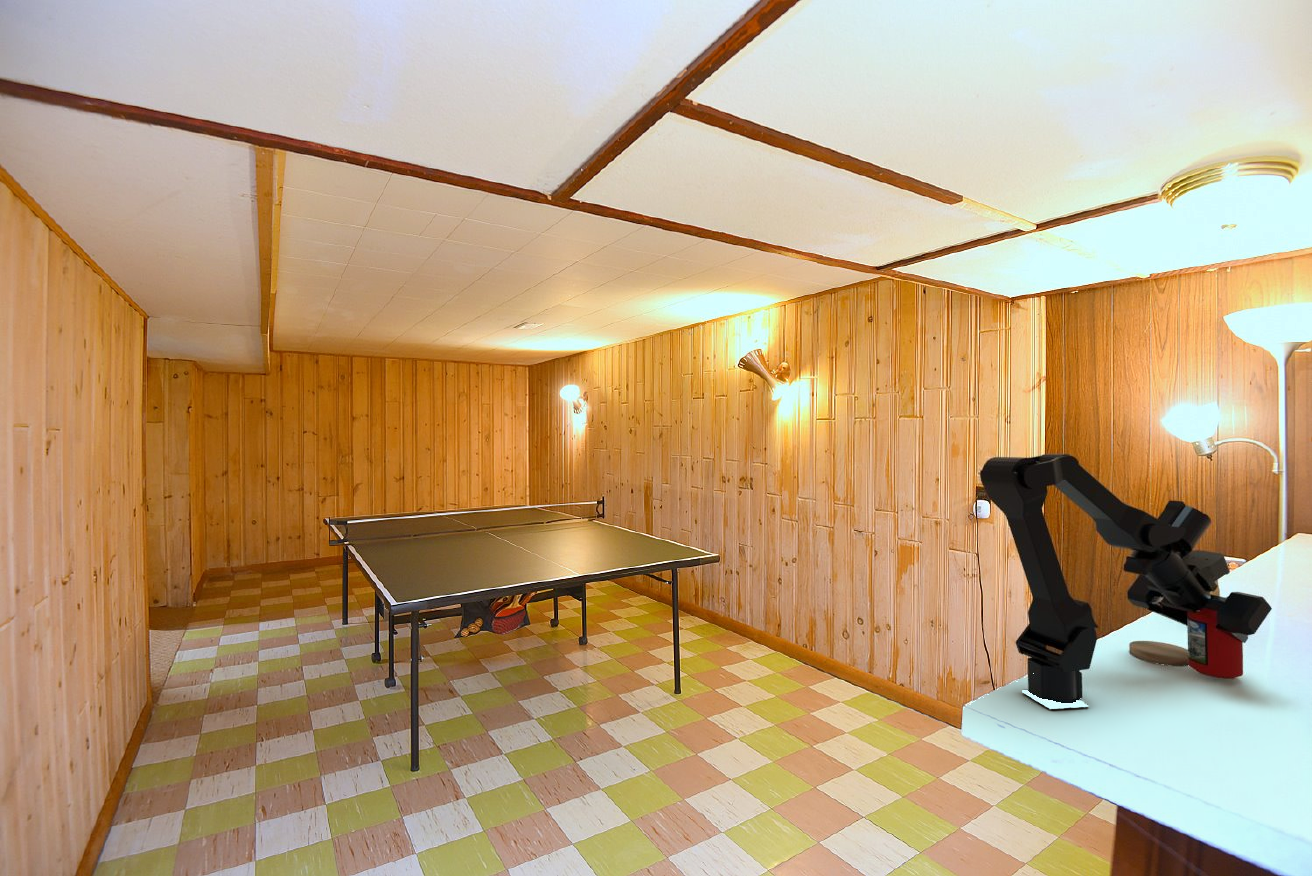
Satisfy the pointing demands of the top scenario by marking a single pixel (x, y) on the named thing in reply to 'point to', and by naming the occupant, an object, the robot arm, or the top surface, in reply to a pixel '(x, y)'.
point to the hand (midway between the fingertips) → (1220, 633)
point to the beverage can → (1212, 647)
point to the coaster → (1159, 653)
